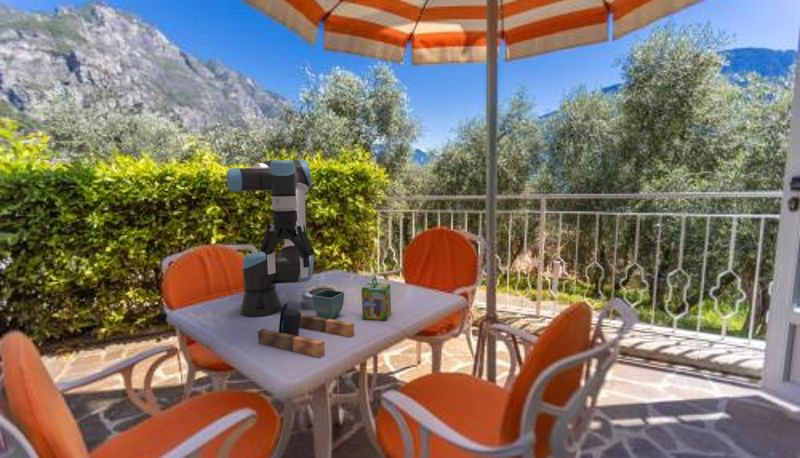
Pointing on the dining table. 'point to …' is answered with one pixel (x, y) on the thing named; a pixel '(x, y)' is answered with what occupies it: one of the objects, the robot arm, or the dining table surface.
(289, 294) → the dining table surface
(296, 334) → the speaker
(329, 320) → the channel
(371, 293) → the chalk box
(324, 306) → the flower pot
